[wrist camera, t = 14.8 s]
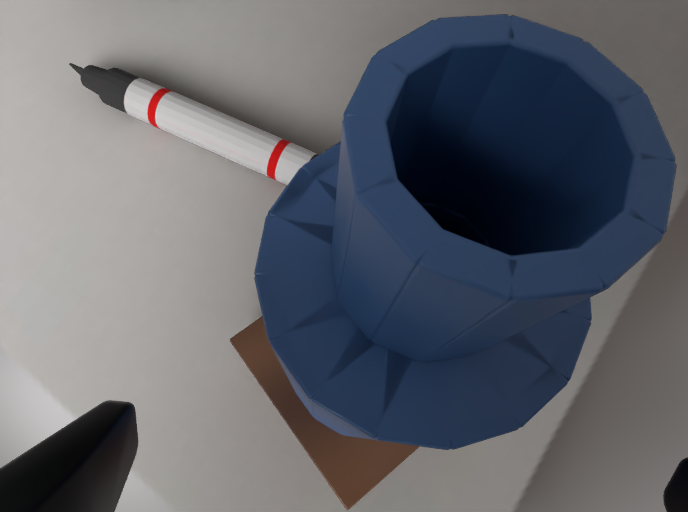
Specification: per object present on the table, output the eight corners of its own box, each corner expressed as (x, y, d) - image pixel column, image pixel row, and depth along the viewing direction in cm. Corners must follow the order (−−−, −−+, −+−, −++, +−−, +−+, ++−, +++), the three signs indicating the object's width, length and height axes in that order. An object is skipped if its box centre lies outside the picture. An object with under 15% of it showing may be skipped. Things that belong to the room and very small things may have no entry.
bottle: (468, 372, 17) (922, 195, 4) (352, 472, 15) (515, 657, 3) (375, 260, 18) (510, -128, 6) (260, 343, 17) (93, 78, 4)
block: (465, 386, 21) (498, 376, 17) (341, 495, 19) (347, 511, 15) (367, 266, 22) (377, 234, 19) (244, 356, 20) (228, 339, 17)
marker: (344, 179, 24) (346, 158, 22) (327, 210, 23) (328, 190, 21) (92, 69, 25) (74, 40, 24) (69, 95, 25) (49, 67, 23)
